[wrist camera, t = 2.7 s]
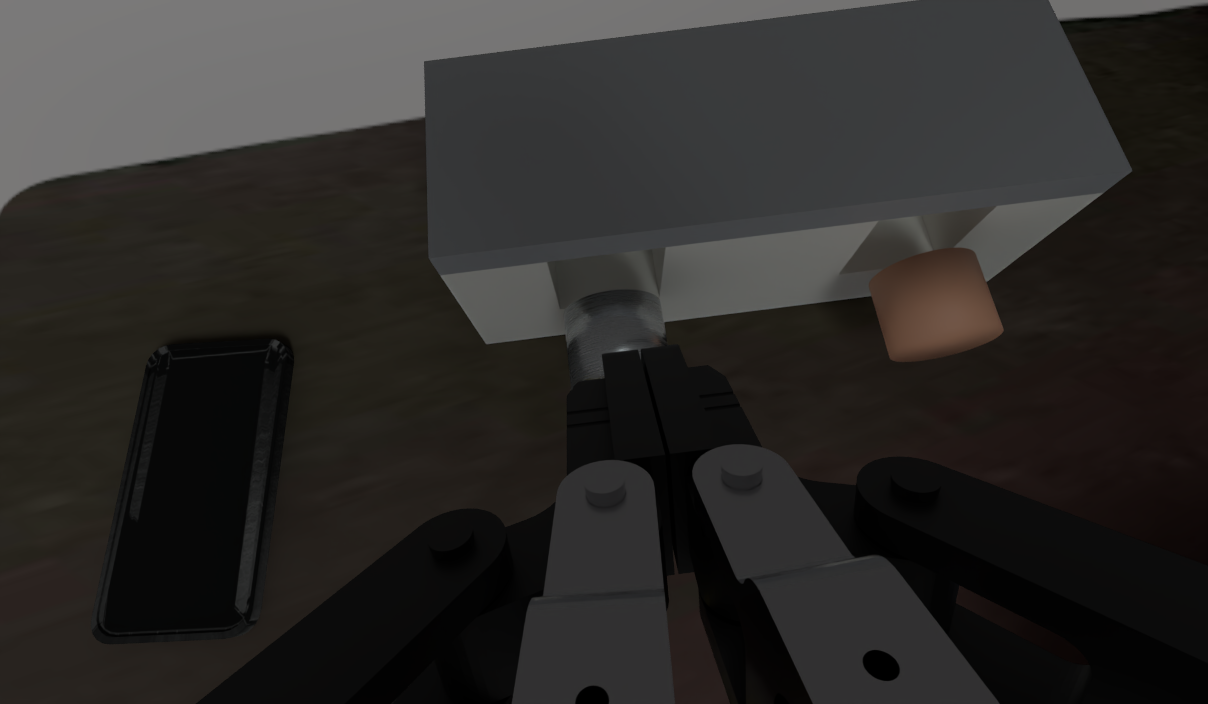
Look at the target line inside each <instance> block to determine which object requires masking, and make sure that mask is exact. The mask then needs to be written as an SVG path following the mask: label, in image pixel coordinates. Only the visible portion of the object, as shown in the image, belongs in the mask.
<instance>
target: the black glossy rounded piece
mask: <svg viewBox="0 0 1208 704" xmlns="http://www.w3.org/2000/svg"><path fill="white" fill-rule="evenodd" d="M563 315H564V324H565V334H566V344H567V353H568V363H569V373H570V382H571V390H572V389H573V387H574V386H575V384H576V383H577V382H578V381H586V380H594V379H602V378H604V370H603V362H602V354H604V353H612V352H620V351H628V350H636V349H638V351H639V355H640V358H641V349H643V348H652V347H660V346H668V344H667V338H666V332H665V326H664V320H663V314H662V307H661V302H660V300H659V298H658V297H657V296H655V295H654V294H652V293H649V292H646V291H641V290H633V289H617V290H608V291H602V292H598V293H594V294H590V295H587V296H585V297H582V298H580V299H578V300H576V301H574V302H573V303H571V304H570V305H569V306H568V307H567V308H566V309H565V311H564V314H563Z"/></svg>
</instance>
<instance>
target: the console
mask: <svg viewBox="0 0 1208 704" xmlns="http://www.w3.org/2000/svg"><path fill="white" fill-rule="evenodd" d="M424 73H425V118H426V162H427V205H428V249H429V259H430V261H431V262H432V264H433V265H434V267H435V268H436V270H437V271H438V273H439V274H440V276H441V277H442V279H443V280H444V282H445V283H446V285H447V286H448V288H449V289H450V291H451V292H452V294H453V295H454V297H455V298H456V300H457V301H458V303H459V304H460V306H461V307H462V309H463V310H464V312H465V313H466V315H467V316H468V318H469V319H470V321H471V322H472V324H473V325H474V327H475V328H476V330H477V331H478V333H479V334H480V336H481V337H482V338H483V340H484V341H485V343H486V344H492V343H500V342H508V341H516V340H524V339H532V338H540V337H548V336H556V335H564V334H565V324H564V315H563V314H564V311H565V309H566V308H567V307H568V306H569V305H570V304H571V303H573V302H574V301H576V300H578V299H580V298H582V297H585V296H587V295H590V294H594V293H598V292H602V291H608V290H617V289H633V290H641V291H646V292H649V293H652V294H654V295H655V296H657V297H658V298H659V300H660V302H661V307H662V314H663V320H664V322H668V321H676V320H684V319H692V318H700V317H708V316H716V315H724V314H732V313H740V312H748V311H756V310H764V309H772V308H780V307H788V306H796V305H804V304H812V303H820V302H828V301H836V300H844V299H852V298H860V297H868V296H871V292H870V289H869V282H870V281H871V279H872V278H873V277H874V276H875V275H876V274H878V273H879V272H880V271H882V270H883V269H885V268H887V267H888V266H890V265H892V264H894V263H897V262H899V261H901V260H904V259H906V258H909V257H912V256H914V255H918V254H921V253H925V252H929V251H933V250H938V249H944V248H967V249H971V250H973V251H974V252H975V253H976V256H977V259H978V261H979V264H980V267H981V270H982V272H983V275H984V278H985V280H986V282H987V281H988V280H990V279H991V278H992V277H994V276H995V275H996V274H998V273H999V272H1000V271H1002V270H1003V269H1004V268H1005V267H1007V266H1008V265H1009V264H1011V263H1012V262H1013V261H1015V260H1016V259H1017V258H1019V257H1020V256H1021V255H1023V254H1024V253H1025V252H1026V251H1028V250H1029V249H1030V248H1032V247H1033V246H1034V245H1036V244H1037V243H1038V242H1040V241H1041V240H1042V239H1043V238H1045V237H1046V236H1047V235H1049V234H1050V233H1051V232H1053V231H1054V230H1055V229H1057V228H1058V227H1059V226H1061V225H1062V224H1063V223H1064V222H1066V221H1067V220H1068V219H1070V218H1071V217H1072V216H1074V215H1075V214H1076V213H1078V212H1079V211H1080V210H1081V209H1083V208H1084V207H1085V206H1087V205H1088V204H1089V203H1091V202H1092V201H1093V200H1095V199H1096V198H1097V197H1098V196H1100V195H1101V194H1102V193H1104V192H1105V191H1106V190H1108V189H1109V188H1110V187H1112V186H1113V185H1114V184H1116V183H1117V182H1118V181H1119V180H1121V179H1122V178H1123V177H1125V176H1126V175H1127V174H1129V173H1130V172H1131V171H1132V169H1131V167H1130V165H1129V163H1128V161H1127V159H1126V157H1125V155H1124V153H1123V151H1122V149H1121V147H1120V145H1119V143H1118V140H1117V138H1116V136H1115V134H1114V132H1113V130H1112V128H1111V126H1110V124H1109V122H1108V120H1107V118H1106V116H1105V114H1104V112H1103V110H1102V108H1101V106H1100V104H1099V102H1098V100H1097V98H1096V96H1095V94H1094V92H1093V90H1092V88H1091V86H1090V84H1089V82H1088V80H1087V78H1086V76H1085V74H1084V71H1083V69H1082V67H1081V65H1080V63H1079V61H1078V59H1077V57H1076V55H1075V53H1074V51H1073V49H1072V47H1071V45H1070V43H1069V41H1068V39H1067V37H1066V35H1065V33H1064V31H1063V29H1062V27H1061V25H1060V23H1059V21H1058V19H1057V17H1056V15H1055V13H1054V11H1053V9H1052V7H1051V5H1050V2H1049V1H1048V0H917V1H910V2H901V3H894V4H885V5H877V6H869V7H860V8H853V9H845V10H836V11H828V12H820V13H812V14H804V15H796V16H788V17H780V18H773V19H763V20H756V21H747V22H739V23H732V24H723V25H715V26H707V27H699V28H692V29H683V30H675V31H667V32H658V33H650V34H642V35H634V36H626V37H618V38H610V39H602V40H594V41H586V42H579V43H570V44H561V45H554V46H546V47H537V48H529V49H521V50H513V51H505V52H497V53H490V54H481V55H473V56H465V57H457V58H448V59H440V60H432V61H425V62H424Z"/></svg>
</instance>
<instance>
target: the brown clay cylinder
mask: <svg viewBox="0 0 1208 704" xmlns="http://www.w3.org/2000/svg"><path fill="white" fill-rule="evenodd" d="M869 289H870V292H871V296H872V299H873V303H874V306H875V309H876V313H877V316H878V320H879V323H880V326H881V330H882V333H883V337H884V340H885V343H886V347H887V350H888V354H889V357H890V359H891V360H893V361H898V362H914V361H923V360H929V359H935V358H940V357H944V356H948V355H952V354H956V353H960V352H963V351H966V350H969V349H972V348H975V347H978V346H980V345H983V344H985V343H987V342H989V341H991V340H993V339H995V338H997V337H998V336H999V335H1001V334H1002V332H1003V327H1002V324H1001V321H1000V318H999V316H998V313H997V310H996V308H995V305H994V302H993V299H992V297H991V294H990V291H989V289H988V286H987V283H986V280H985V278H984V275H983V272H982V270H981V267H980V264H979V261H978V259H977V256H976V253H975V252H974V251H973V250H971V249H967V248H944V249H938V250H933V251H929V252H925V253H921V254H918V255H914V256H912V257H909V258H906V259H904V260H901V261H899V262H897V263H894V264H892V265H890V266H888V267H887V268H885V269H883V270H882V271H880V272H879V273H878V274H876V275H875V276H874V277H873V278H872V279H871V281H870V282H869Z"/></svg>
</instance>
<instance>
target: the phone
mask: <svg viewBox="0 0 1208 704" xmlns="http://www.w3.org/2000/svg"><path fill="white" fill-rule="evenodd" d="M293 365H294V356H293V353H292V351H291V350H290V349H289V348H288V347H287V346H286V345H284V344H282V343H281V342H279V341H277V340H274V339H259V340H242V341H224V342H207V343H189V344H172V345H166V346H163V347H161V348H159V349H158V350H157V351H155V352H154V353H153V354H152V355H151V357H150V358H149V360H148V362H147V365H146V369H145V374H144V378H143V383H142V388H141V392H140V397H139V402H138V406H137V411H136V415H135V420H134V425H133V429H132V434H131V439H130V443H129V448H128V453H127V457H126V462H125V466H124V471H123V476H122V480H121V485H120V490H119V494H118V499H117V503H116V508H115V513H114V517H113V522H112V526H111V531H110V536H109V540H108V545H107V550H106V554H105V559H104V563H103V568H102V573H101V577H100V582H99V587H98V591H97V596H96V600H95V605H94V610H93V614H92V619H91V629H92V633H93V635H94V637H95V638H96V639H97V640H98V641H100V642H101V643H104V644H127V643H148V642H169V641H189V640H210V639H226V638H231V637H235V636H240V635H243V634H244V633H246V632H248V631H249V630H250V629H251V628H252V627H253V626H254V625H255V624H256V622H257V620H258V618H259V616H260V612H261V608H262V600H263V592H264V585H265V577H266V570H267V562H268V555H269V547H270V539H271V532H272V524H273V517H274V509H275V502H276V494H277V486H278V479H279V471H280V464H281V456H282V448H283V441H284V433H285V426H286V418H287V411H288V403H289V395H290V388H291V380H292V373H293Z"/></svg>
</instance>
